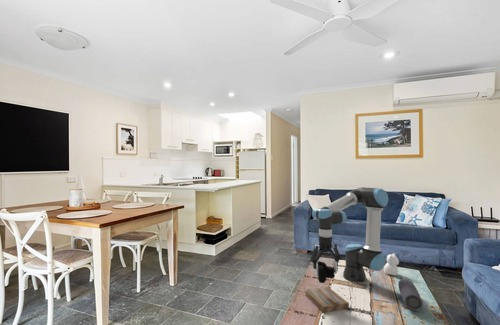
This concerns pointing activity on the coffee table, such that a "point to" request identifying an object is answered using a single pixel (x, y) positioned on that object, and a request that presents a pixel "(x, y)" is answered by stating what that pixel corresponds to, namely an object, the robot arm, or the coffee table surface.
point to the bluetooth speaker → (410, 294)
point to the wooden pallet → (327, 299)
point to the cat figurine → (391, 265)
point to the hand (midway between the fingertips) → (325, 273)
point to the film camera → (324, 272)
